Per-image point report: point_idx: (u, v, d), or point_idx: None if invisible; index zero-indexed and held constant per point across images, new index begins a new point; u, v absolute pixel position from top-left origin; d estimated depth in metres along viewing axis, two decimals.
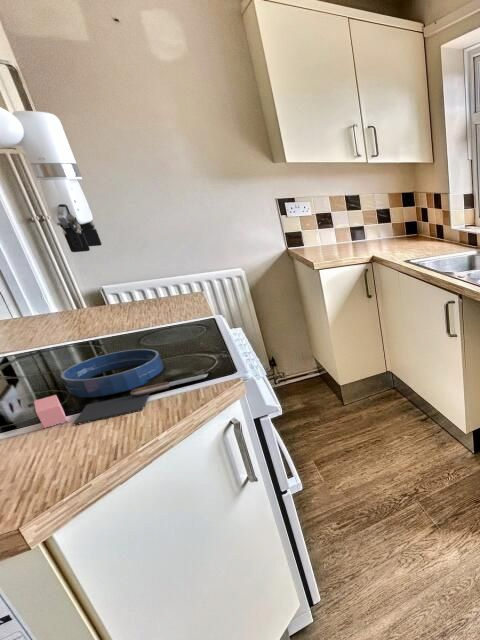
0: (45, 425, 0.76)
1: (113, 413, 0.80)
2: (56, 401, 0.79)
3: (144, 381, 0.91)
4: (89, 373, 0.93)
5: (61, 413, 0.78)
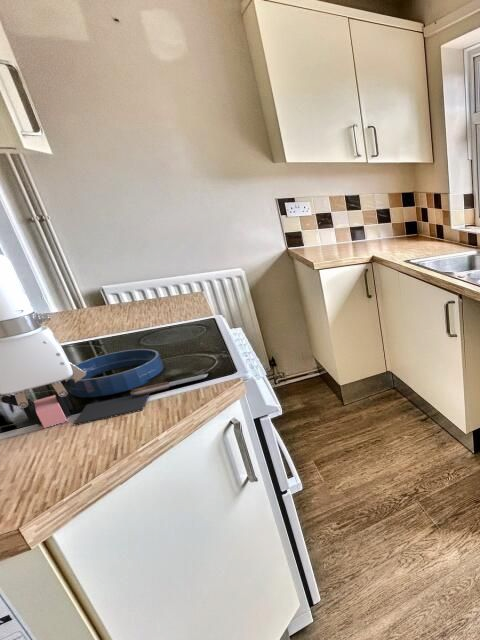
0: (45, 425, 0.76)
1: (113, 413, 0.80)
2: (56, 401, 0.79)
3: (144, 381, 0.91)
4: (89, 373, 0.93)
5: (61, 413, 0.78)
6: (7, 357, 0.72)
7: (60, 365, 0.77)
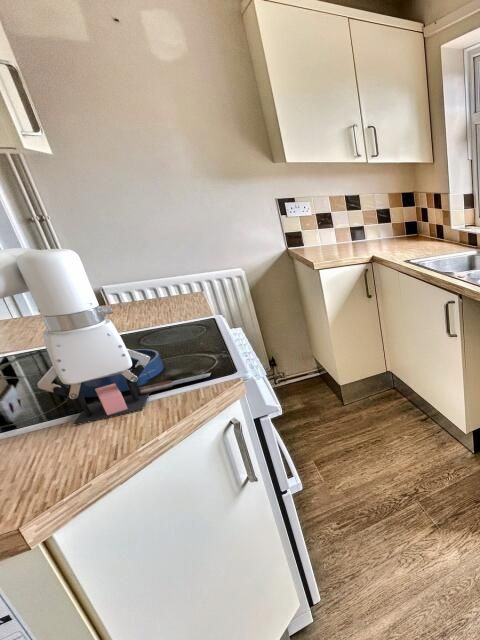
0: (108, 412, 0.80)
1: (113, 413, 0.80)
2: (117, 389, 0.82)
3: (144, 381, 0.91)
4: None
5: (122, 400, 0.81)
6: (75, 348, 0.75)
7: (121, 357, 0.80)
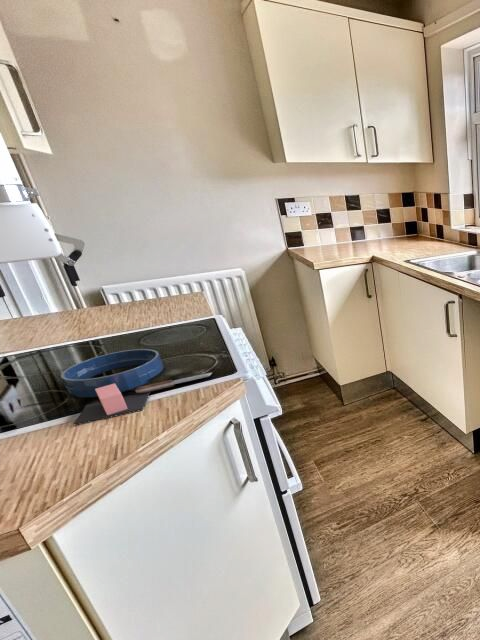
0: (108, 412, 0.80)
1: (113, 413, 0.80)
2: (117, 389, 0.82)
3: (144, 381, 0.91)
4: (89, 373, 0.93)
5: (122, 400, 0.81)
6: None
7: (48, 241, 0.79)
